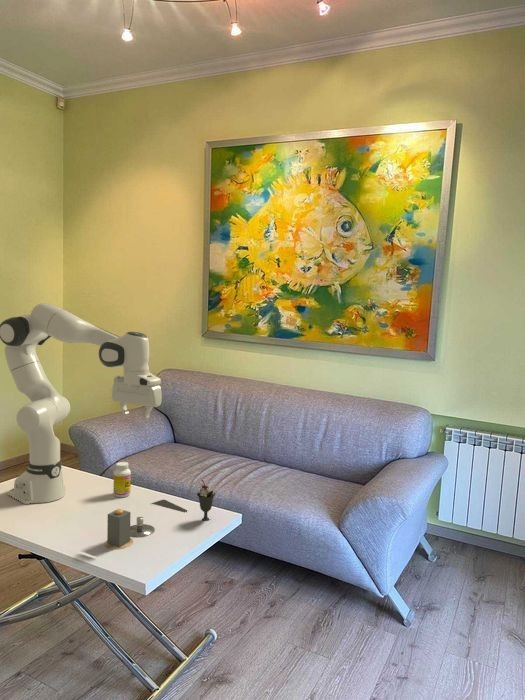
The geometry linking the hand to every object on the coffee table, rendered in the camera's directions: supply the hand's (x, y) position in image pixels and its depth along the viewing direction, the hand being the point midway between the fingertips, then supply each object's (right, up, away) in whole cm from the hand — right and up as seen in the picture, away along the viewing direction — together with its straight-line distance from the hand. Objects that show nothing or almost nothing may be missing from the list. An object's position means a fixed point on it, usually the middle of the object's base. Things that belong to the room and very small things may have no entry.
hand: (135, 416), depth 182 cm
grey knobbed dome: (+4, -38, -9) cm, 39 cm away
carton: (-1, -38, -18) cm, 42 cm away
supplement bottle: (-11, -35, +23) cm, 43 cm away
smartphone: (+10, -37, +12) cm, 40 cm away
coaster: (-1, -39, -18) cm, 43 cm away
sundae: (+25, -38, +2) cm, 46 cm away
